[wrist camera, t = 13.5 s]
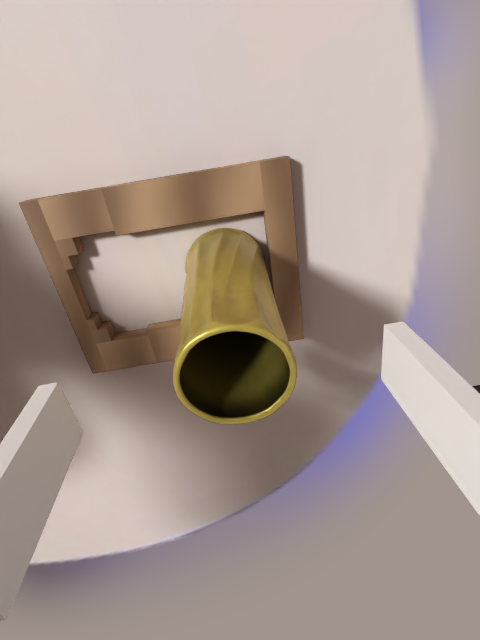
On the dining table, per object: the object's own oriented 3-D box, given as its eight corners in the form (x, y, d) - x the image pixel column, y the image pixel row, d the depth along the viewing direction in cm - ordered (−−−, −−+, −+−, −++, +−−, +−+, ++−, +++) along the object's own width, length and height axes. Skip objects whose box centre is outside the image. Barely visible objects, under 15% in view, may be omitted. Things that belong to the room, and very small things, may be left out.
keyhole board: (97, 365, 30) (92, 373, 29) (27, 199, 24) (18, 203, 23) (300, 331, 30) (303, 338, 29) (286, 155, 24) (289, 156, 23)
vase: (274, 287, 28) (322, 409, 16) (203, 312, 29) (195, 449, 16) (249, 215, 25) (284, 291, 13) (172, 244, 26) (133, 345, 13)
